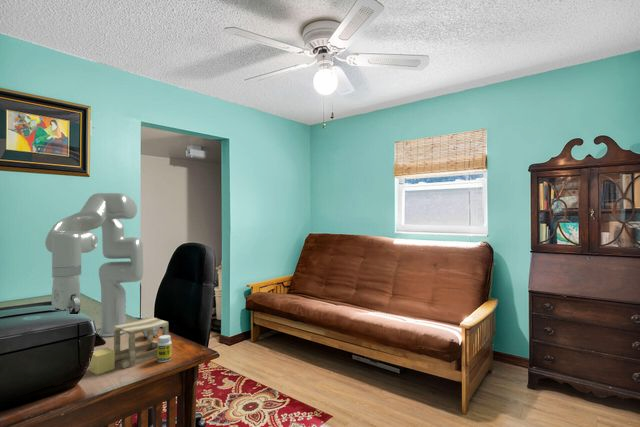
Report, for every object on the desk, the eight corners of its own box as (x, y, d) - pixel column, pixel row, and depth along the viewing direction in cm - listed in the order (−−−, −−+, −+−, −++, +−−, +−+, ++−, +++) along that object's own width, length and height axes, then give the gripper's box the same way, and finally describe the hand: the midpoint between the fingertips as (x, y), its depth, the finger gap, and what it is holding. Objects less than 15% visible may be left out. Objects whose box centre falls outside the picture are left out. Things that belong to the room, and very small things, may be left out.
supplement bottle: (156, 363, 122) (156, 339, 122) (157, 358, 126) (157, 335, 126) (171, 361, 124) (171, 337, 124) (171, 356, 128) (171, 333, 128)
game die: (145, 346, 148) (131, 328, 148) (161, 333, 155) (147, 316, 155) (153, 340, 143) (138, 321, 142) (170, 327, 150) (155, 309, 150)
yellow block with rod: (49, 383, 107) (49, 361, 107) (106, 364, 121) (107, 344, 121) (56, 388, 104) (56, 365, 104) (114, 368, 118) (114, 348, 118)
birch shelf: (108, 360, 124) (108, 327, 124) (151, 346, 137) (151, 316, 138) (124, 369, 117) (124, 333, 118) (168, 353, 131) (168, 321, 131)
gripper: (42, 270, 112) (43, 323, 112) (63, 276, 102) (63, 334, 102) (69, 267, 118) (69, 317, 118) (91, 272, 108) (92, 327, 108)
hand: (67, 325), depth 110 cm, fingers open, 9 cm apart
